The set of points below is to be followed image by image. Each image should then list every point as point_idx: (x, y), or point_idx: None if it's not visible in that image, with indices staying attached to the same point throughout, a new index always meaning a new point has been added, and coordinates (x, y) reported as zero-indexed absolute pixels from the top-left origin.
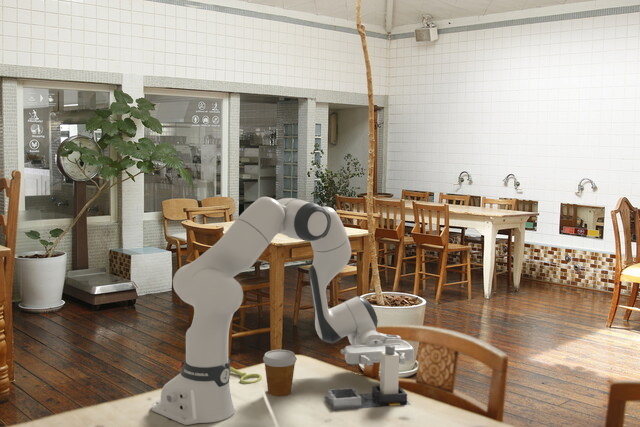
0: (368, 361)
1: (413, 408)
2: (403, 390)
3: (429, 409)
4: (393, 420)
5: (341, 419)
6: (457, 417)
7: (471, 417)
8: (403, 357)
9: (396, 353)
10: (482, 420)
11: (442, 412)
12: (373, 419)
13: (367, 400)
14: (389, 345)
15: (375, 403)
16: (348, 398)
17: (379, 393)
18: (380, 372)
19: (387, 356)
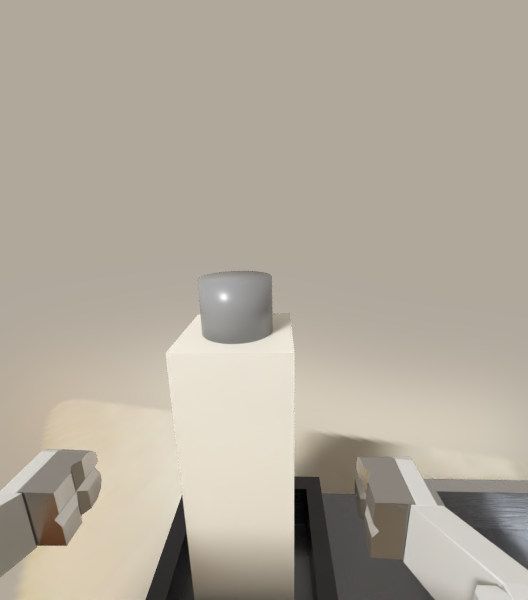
0: (405, 458)
1: (180, 497)
2: (174, 518)
3: (132, 478)
4: (294, 433)
5: (475, 465)
6: (109, 420)
7: (76, 415)
8: (51, 453)
9: (193, 326)
10: (72, 401)
11: (114, 451)
12: (357, 448)
13: (380, 585)
14: (229, 281)
15: (338, 533)
16: (481, 481)
17: (317, 507)
18: (293, 503)
19: (275, 317)
